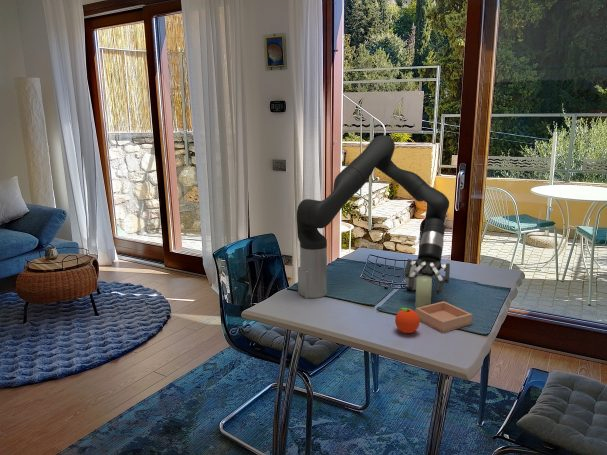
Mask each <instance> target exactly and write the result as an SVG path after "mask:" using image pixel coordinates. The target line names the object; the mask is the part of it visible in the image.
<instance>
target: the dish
mask: <svg viewBox="0 0 607 455" xmlns="http://www.w3.org/2000/svg"><path fill="white" fill-rule="evenodd" d="M414 308H415V307H414ZM414 311H415V312H416V313H417V314H418V316H419V319H420V323H423V324H425V325H427V326H429V327H430V328H432V329H434V330H436V331H437V332H440V333H441V334H444V333H446V332H447V333H448V332H451V331H454V330H457V329H461V328H465V327H468V326H471V325H472V322H473V314H472V313H470V312H468V311H466V310H463V309H462V308H460V307H457V306H455V305H453V304H450V303H449V302H446V301H444V300H443V301H440V302H436V303H431V305H427V306H423V307H418V308H415V310H414Z"/></svg>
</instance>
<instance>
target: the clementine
mask: <svg viewBox="0 0 607 455" xmlns="http://www.w3.org/2000/svg"><path fill="white" fill-rule="evenodd" d="M399 309H401V310H396V311H395V312H396V315H395V317H394V318H395V319H394V322H395V323H394V324H395V326H396V328H397V329H398V330H399V332H401V333H404V334H411V333H414V332H416V331H417V330H418V329H419V326H420V323H421V321H420V319H419V316H418V314H417V313H416V312H415V310H413V309H411V308H407V307H401V308H399Z"/></svg>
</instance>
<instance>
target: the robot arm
mask: <svg viewBox="0 0 607 455" xmlns="http://www.w3.org/2000/svg"><path fill="white" fill-rule="evenodd" d="M395 148H396V145H395V141H394V139H393V138H392V137H391V136H389V135H384V134H382V135H381V134H380V135H378V136H376V137H374V138H373V139H372V140H371V141H370V142H369V144H368V145H367V146H366V148H364V150H363V151H362V152H361V153H360V154H358V156H356V157H355V158H354V159H353V160H352V161H351V162H350V163H349V164H348V165H347V166H345V167H344V168H343V169H342V170H341V171H340V172H339V173H338V174H337V175H336V177H335V178H334V181H333V189H332V192H331V193H330V194H329V195H328V196H327V197H326V198H324V199H323V200H317V199H310V198H305V199H303V200H302V201H300V202H299V204H298V206H297V209H296V230H297V239H298V242H299V266H298V267H297V293H298V294H299V295H301V296H302V297H304V298H305V299H318V298H324V297H325V296H326V295H327V291H328V290H327V289H328V287H327V284H328V283H327V282H328V281H327V280H328V277H327V274H328V270H327V269H328V268H327V267H328V266H327V265H328V262H327V261H328V258H327V257H328V253H327V252H328V242H327V241H328V240H327V237H326V236H325V235H323V234H322V233H321V232H320V231H319V230H318V229H324V228H327V226H329V225H330V224H331V223H332V221H333V220H334V219H335V218H336V216H337V215H338V214H339V212H340V211H341V210H342V208H344V206H345V205H346V204H347V203H348V202H349V201H350V200H351V199H352V197H353V196H355V194H357V192H359V190H361V189H362V188H363V187H364V185H365V184H366V183H367V181H368V180H369V179H370V177H371V176H372V174H373V172H374V170H375V169H377V170H379V171H380V172H381V173H382V174H384V175H385V176H387V177H389V179H392V180H393V181H394V182H396V183H397V184H398V185H399V186H400V187H402V188H403V189H404V190H405V191H406V192H407V193H408V194H409V195H410V196H411V197H412V198H413V199H414V200H415V201H417V202H425V203H426V204H427V207H426V212H425V217H424V218H425V221H424V225H423V231H422V235H421V239H420V243H419V250H418V253H417V254H418V256H417V259H416V261H415V260H412V259H410V258H408V259H407V261H406V265H405V270H404V272H403V273H404V278H405V277H406V278H409V283H408V286H407V287H408V289H409V291H414V290H413V284H414V279H416V277H418V276H419V275H420V274H422V275H426V276H428V277H434V278H435V279H436V280H437V286H436V294H437V295H440V293H442V291H443V287H444V286H443V285H444V284H445V283H446V284H449V283H450V273H451V272H450V270H451V264H450V263H446V264H442V257H443V256H442V255H443V250H444V249H443V248H444V237H445V230H446V225H445V223H446V221H445V220H446V217H447V213H448V209H449V208H450V200H449V198H448V197H447V196H446V194H444V193H443V192H441V191H440V190H438V189H436V188H435V187H433V186H431V185H429V184H428V183H427V182H426V181H425V180H424V179H423V178H422V177H421V176H420V175H419V174H417V173H415V172H413V171H410V170H406V169H403V168H400V167H398V166H397V165H396V164H395V162H393V160H392V159H393V158H392V157H393V155H394V152H395ZM414 265H416V267H417V268H416V269H415V270H414V271H413V272H412V273H411V274H410V269H411V267H413V266H414ZM441 269H443V272H445V274H444V277H442V275H441V274H440V270H441Z"/></svg>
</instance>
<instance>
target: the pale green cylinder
mask: <svg viewBox="0 0 607 455" xmlns="http://www.w3.org/2000/svg"><path fill="white" fill-rule="evenodd" d="M432 286H433V278H432V276H428V275H426V276H418V277H417V280H416V290H415V305H414V306H415V307H416V308H418V307H423V306H427V305H431V304H432V289H433V288H432ZM415 307H414V308H415Z"/></svg>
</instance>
